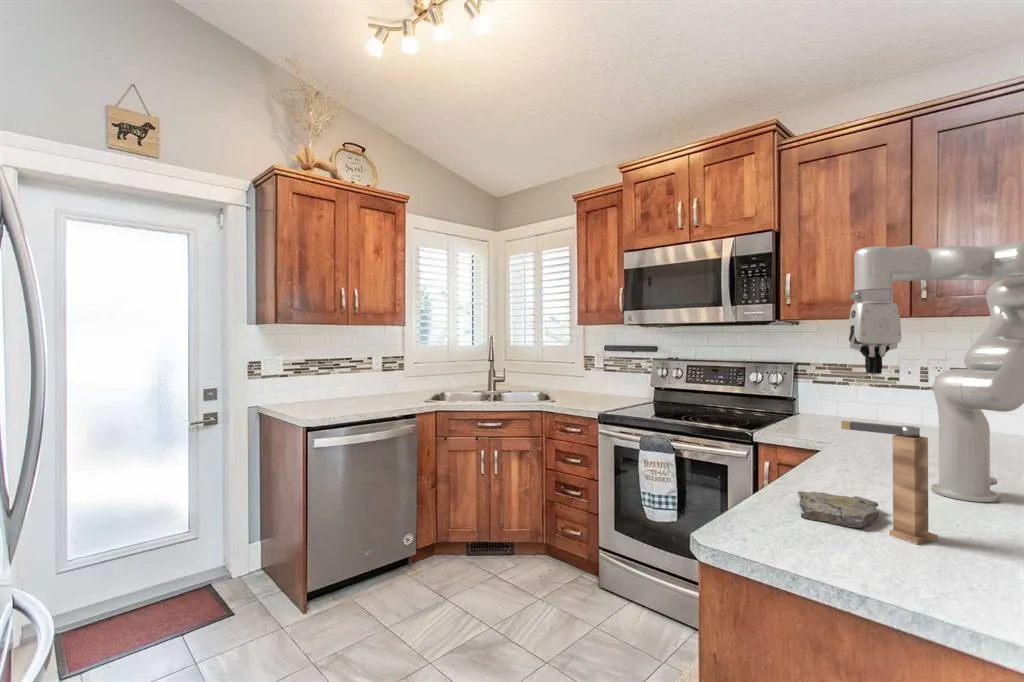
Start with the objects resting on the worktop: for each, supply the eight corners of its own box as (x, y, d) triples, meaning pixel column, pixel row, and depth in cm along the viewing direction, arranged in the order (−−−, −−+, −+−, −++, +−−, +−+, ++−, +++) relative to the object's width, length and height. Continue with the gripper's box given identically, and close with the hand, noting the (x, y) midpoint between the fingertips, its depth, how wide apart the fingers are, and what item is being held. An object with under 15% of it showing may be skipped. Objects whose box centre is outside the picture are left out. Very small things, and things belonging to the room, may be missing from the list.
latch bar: (920, 435, 99) (920, 426, 99) (918, 438, 97) (918, 428, 97) (844, 427, 109) (844, 419, 109) (840, 429, 107) (840, 421, 107)
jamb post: (909, 531, 102) (909, 433, 102) (937, 540, 98) (937, 438, 98) (889, 535, 100) (889, 435, 100) (917, 544, 96) (916, 440, 96)
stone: (881, 536, 101) (881, 518, 101) (794, 520, 109) (794, 504, 109) (876, 511, 116) (876, 496, 116) (800, 499, 124) (800, 485, 124)
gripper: (852, 297, 118) (852, 374, 118) (916, 296, 118) (917, 374, 118) (832, 299, 126) (833, 372, 126) (893, 299, 125) (893, 372, 125)
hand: (873, 373), depth 122 cm, fingers closed
